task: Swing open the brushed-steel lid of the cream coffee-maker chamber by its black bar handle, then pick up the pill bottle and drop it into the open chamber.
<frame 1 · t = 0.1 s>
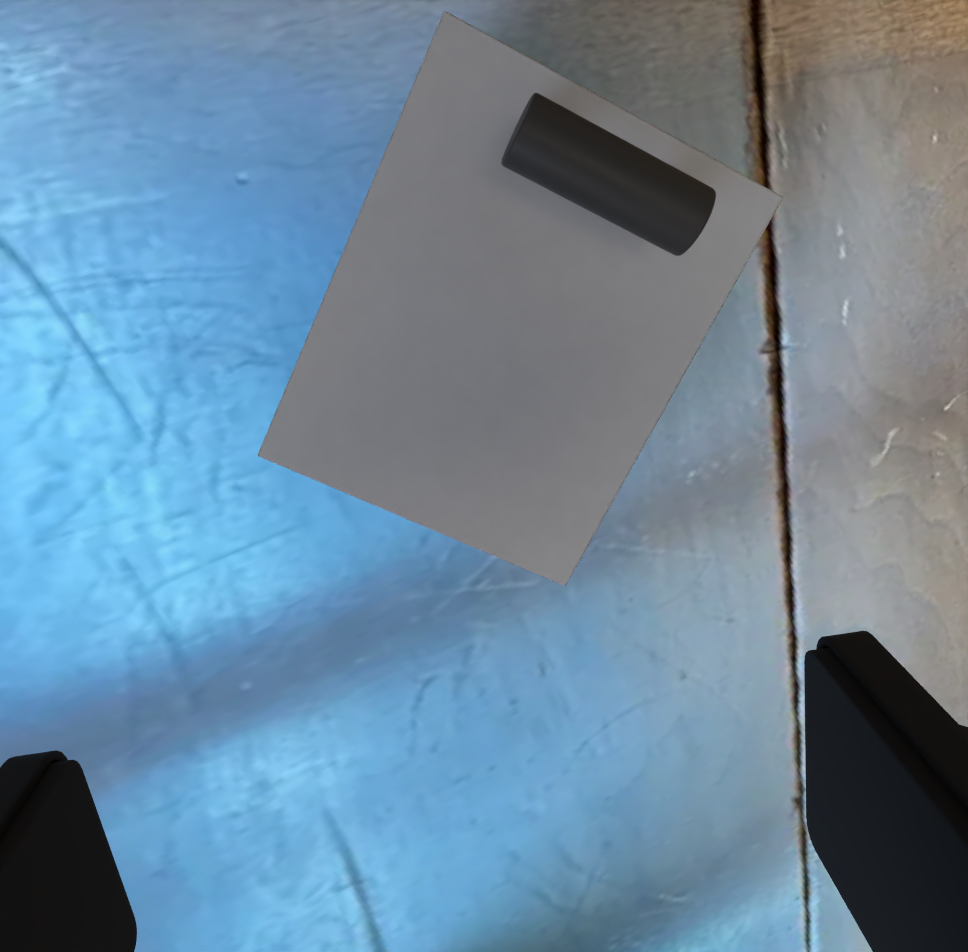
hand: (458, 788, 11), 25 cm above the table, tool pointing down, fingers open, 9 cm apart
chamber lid: (516, 340, 23), point 10 cm above the table, hinge at 0.0°
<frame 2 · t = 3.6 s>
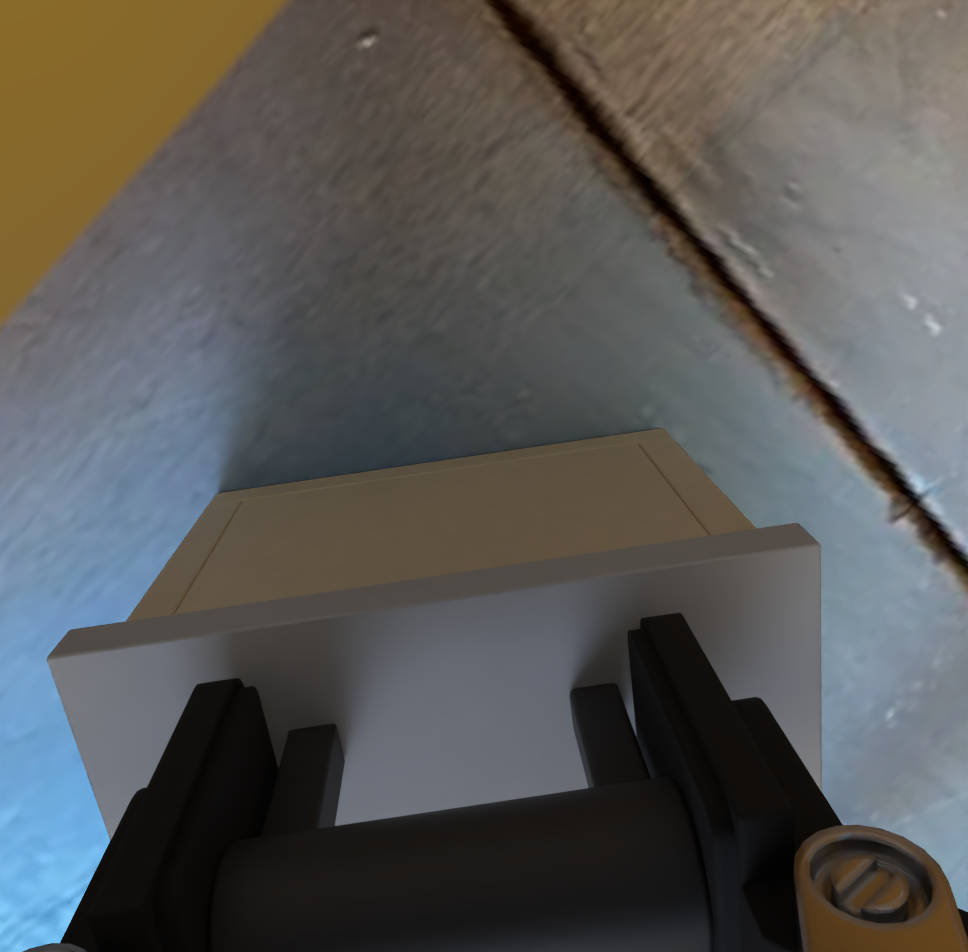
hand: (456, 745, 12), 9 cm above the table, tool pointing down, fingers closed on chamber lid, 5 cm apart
chamber: (477, 689, 22), on the table
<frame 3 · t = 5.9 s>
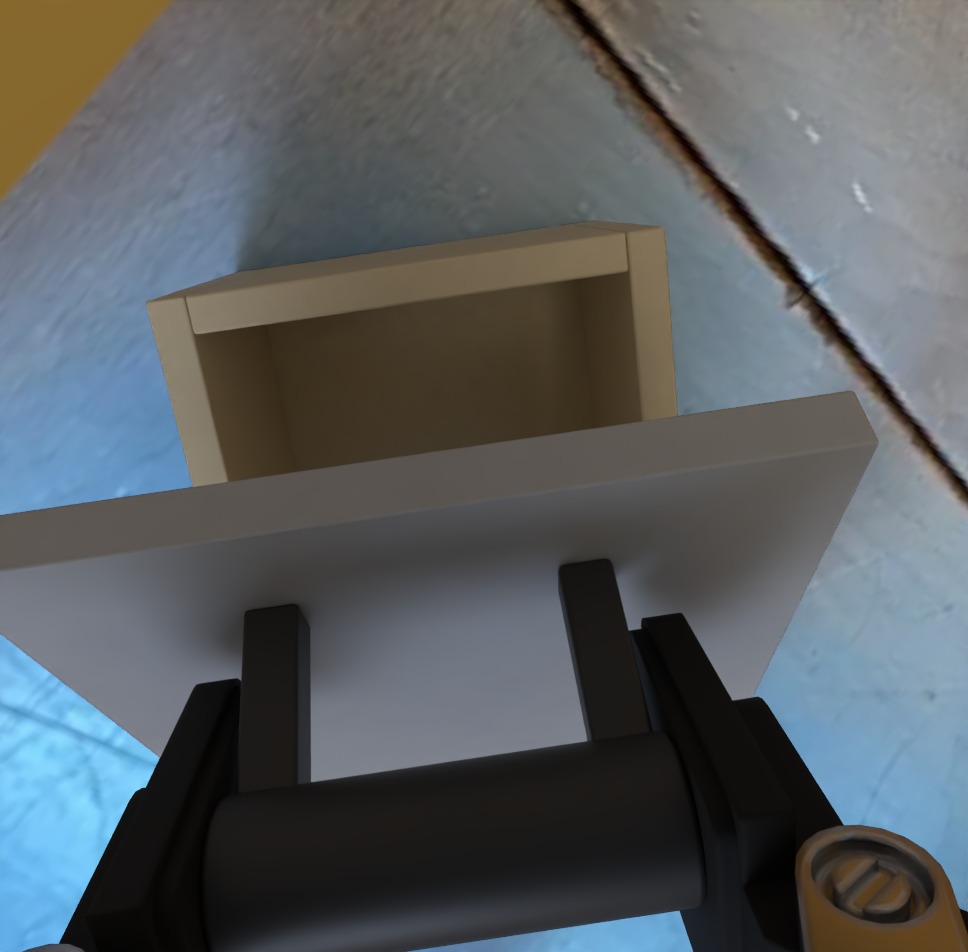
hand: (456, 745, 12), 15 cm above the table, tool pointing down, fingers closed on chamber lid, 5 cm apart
chamber: (447, 453, 26), on the table
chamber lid: (476, 813, 14), point 14 cm above the table, hinge at 37.0°, touching gripper
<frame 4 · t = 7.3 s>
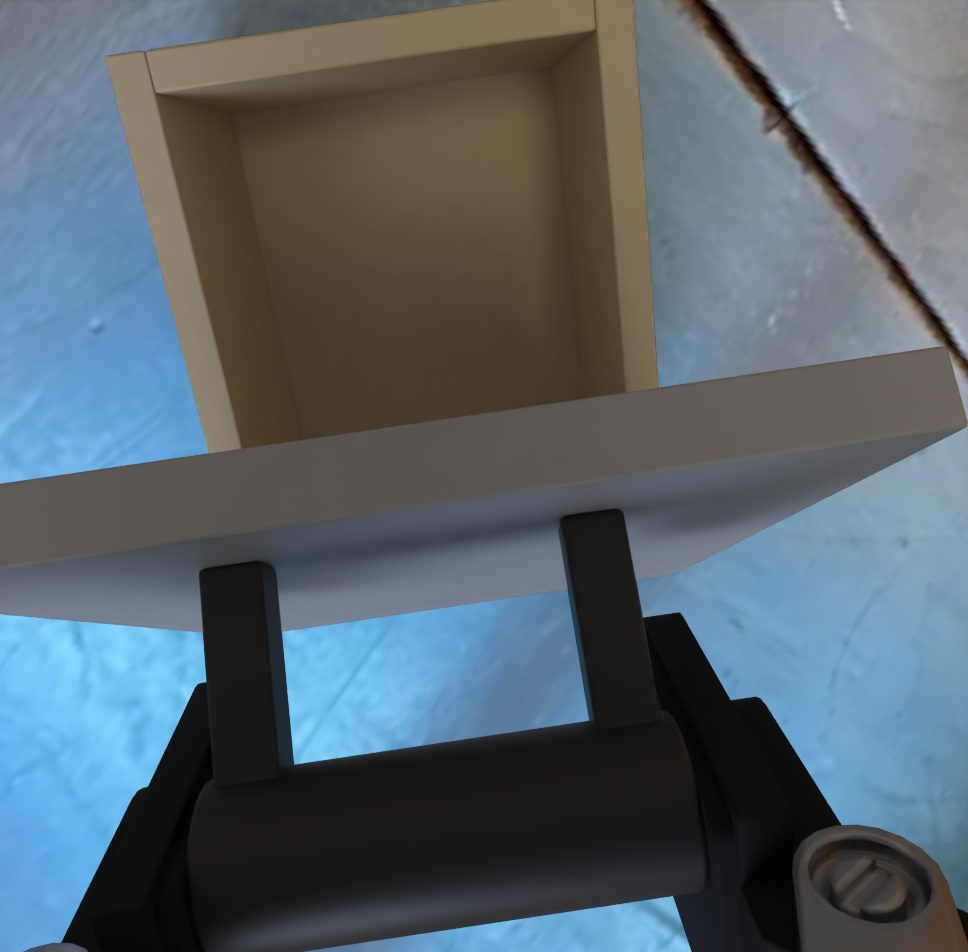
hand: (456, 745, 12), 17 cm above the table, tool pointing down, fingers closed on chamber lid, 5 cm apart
chamber: (423, 285, 26), on the table
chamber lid: (456, 677, 14), point 15 cm above the table, hinge at 57.4°, touching gripper
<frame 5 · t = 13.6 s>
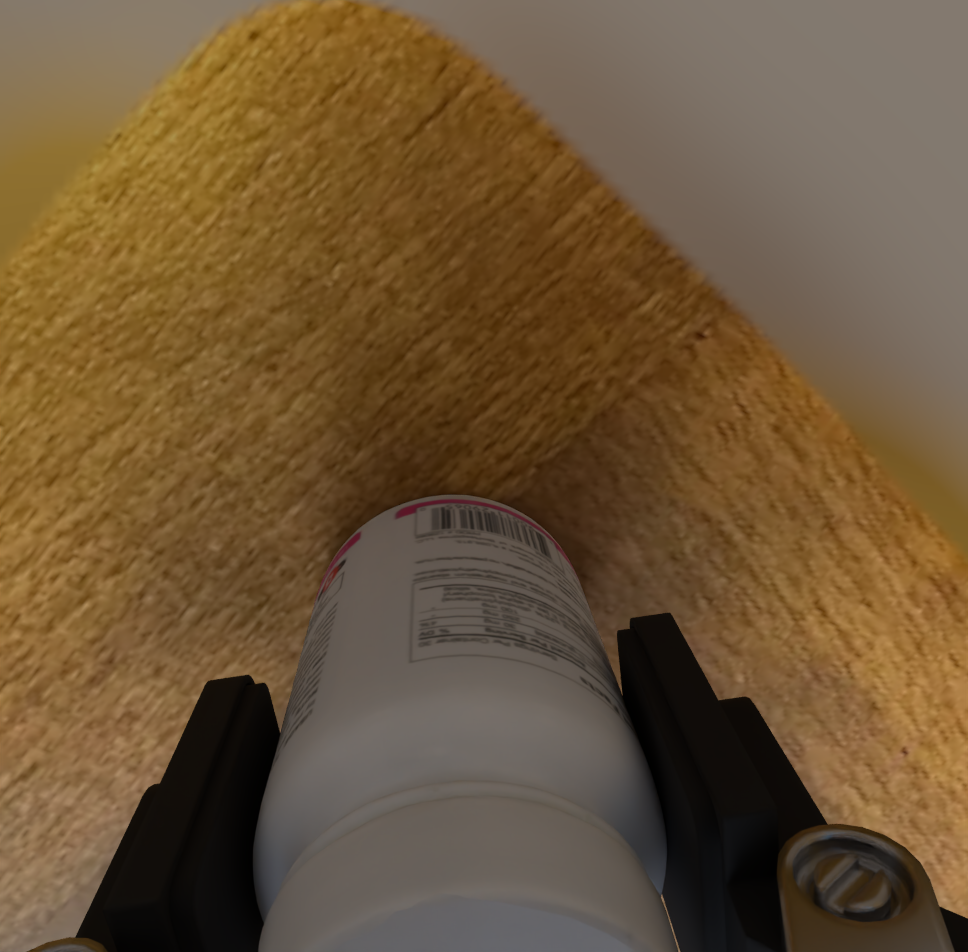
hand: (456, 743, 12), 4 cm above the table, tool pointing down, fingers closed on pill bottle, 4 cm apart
pill bottle: (451, 607, 15), on the table, touching gripper
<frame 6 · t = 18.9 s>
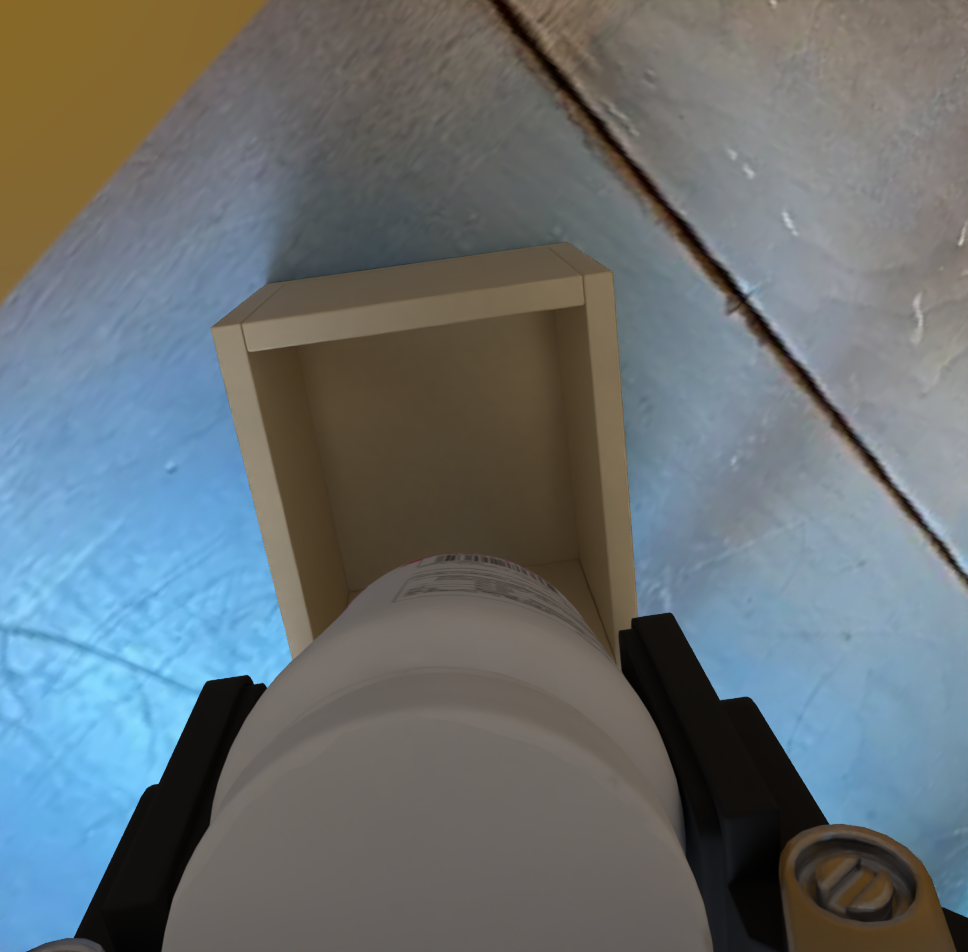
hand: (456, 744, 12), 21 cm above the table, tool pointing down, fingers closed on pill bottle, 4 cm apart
chamber: (443, 434, 32), on the table
pill bottle: (463, 688, 15), point 18 cm above the table, touching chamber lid, gripper
when the fingers open (10 cm above the table, at t = 21.6 s): pill bottle drops 7 cm, resting on chamber.
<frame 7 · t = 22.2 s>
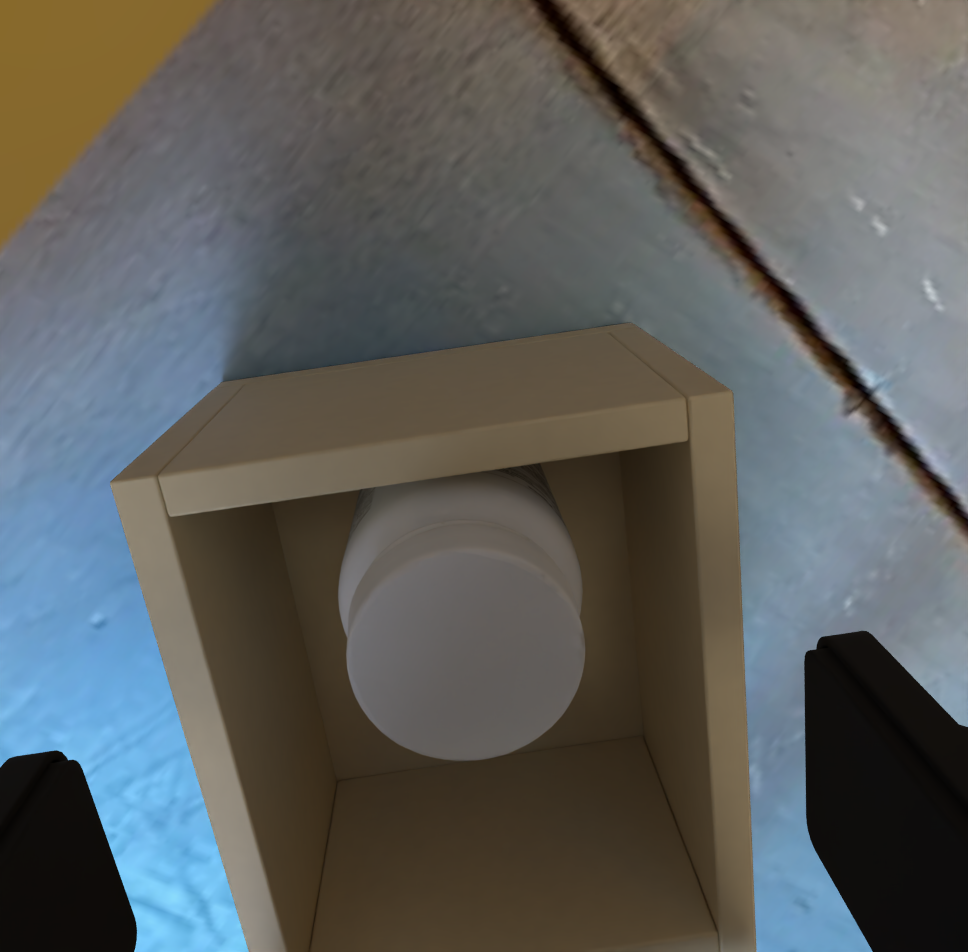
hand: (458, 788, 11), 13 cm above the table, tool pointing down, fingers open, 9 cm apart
chamber: (462, 574, 24), on the table
pill bottle: (454, 493, 22), point 1 cm above the table, touching chamber
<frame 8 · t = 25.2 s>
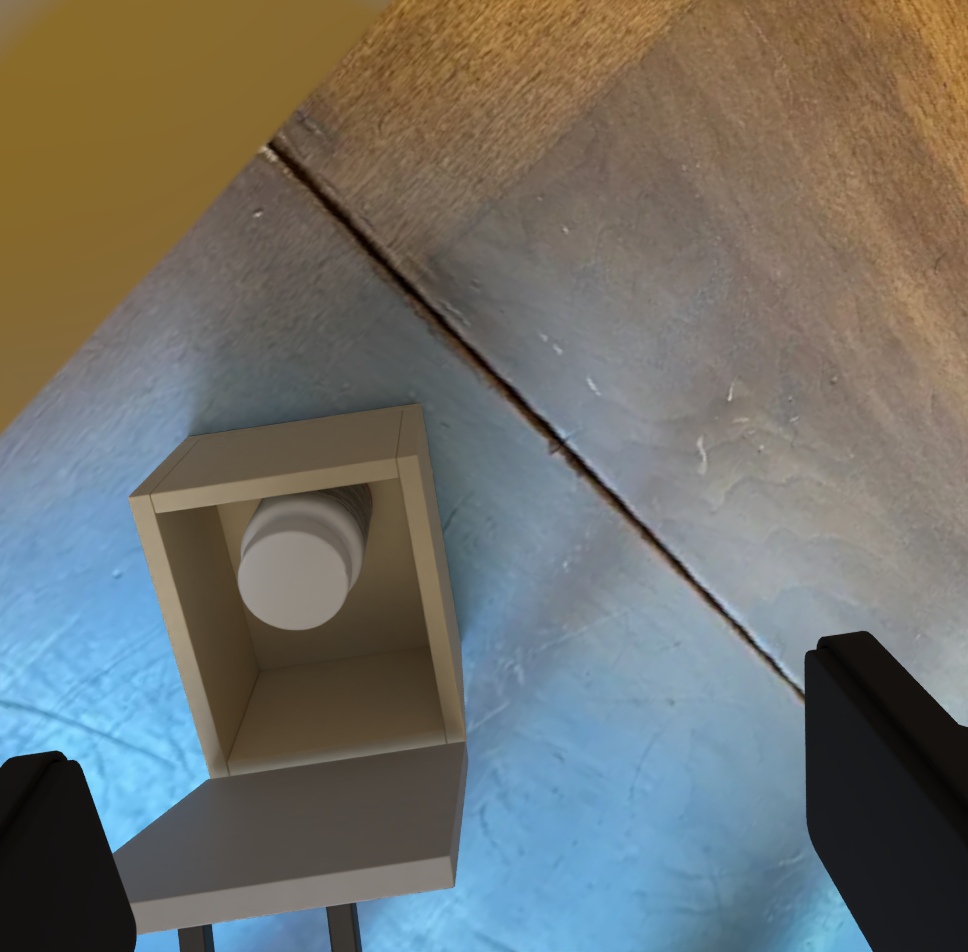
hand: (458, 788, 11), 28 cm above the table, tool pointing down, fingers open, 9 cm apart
chamber: (331, 547, 40), on the table
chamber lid: (309, 883, 28), point 15 cm above the table, hinge at 65.2°
pill bottle: (322, 499, 39), point 1 cm above the table, touching chamber
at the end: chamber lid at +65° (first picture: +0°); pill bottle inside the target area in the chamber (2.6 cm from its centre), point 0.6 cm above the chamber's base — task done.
